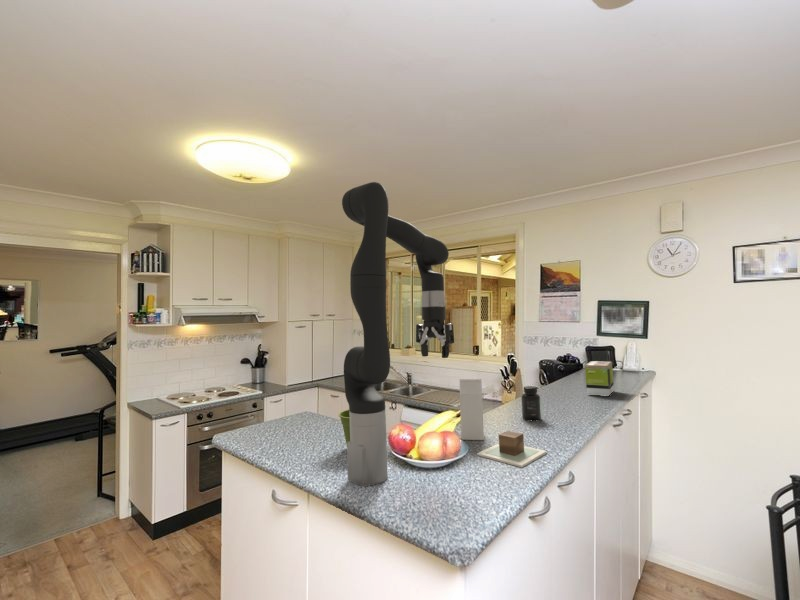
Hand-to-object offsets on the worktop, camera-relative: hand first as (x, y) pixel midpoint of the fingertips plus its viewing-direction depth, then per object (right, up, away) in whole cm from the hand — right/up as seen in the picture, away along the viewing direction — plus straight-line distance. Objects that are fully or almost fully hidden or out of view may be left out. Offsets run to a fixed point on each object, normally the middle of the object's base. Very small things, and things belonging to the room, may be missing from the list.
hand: (434, 357), depth 125 cm
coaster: (+21, -26, -11) cm, 36 cm away
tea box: (+86, -27, +66) cm, 112 cm away
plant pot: (-24, -29, -2) cm, 37 cm away
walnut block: (+21, -26, -11) cm, 35 cm away
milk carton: (+13, -28, +6) cm, 31 cm away
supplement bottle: (+39, -27, +25) cm, 54 cm away
